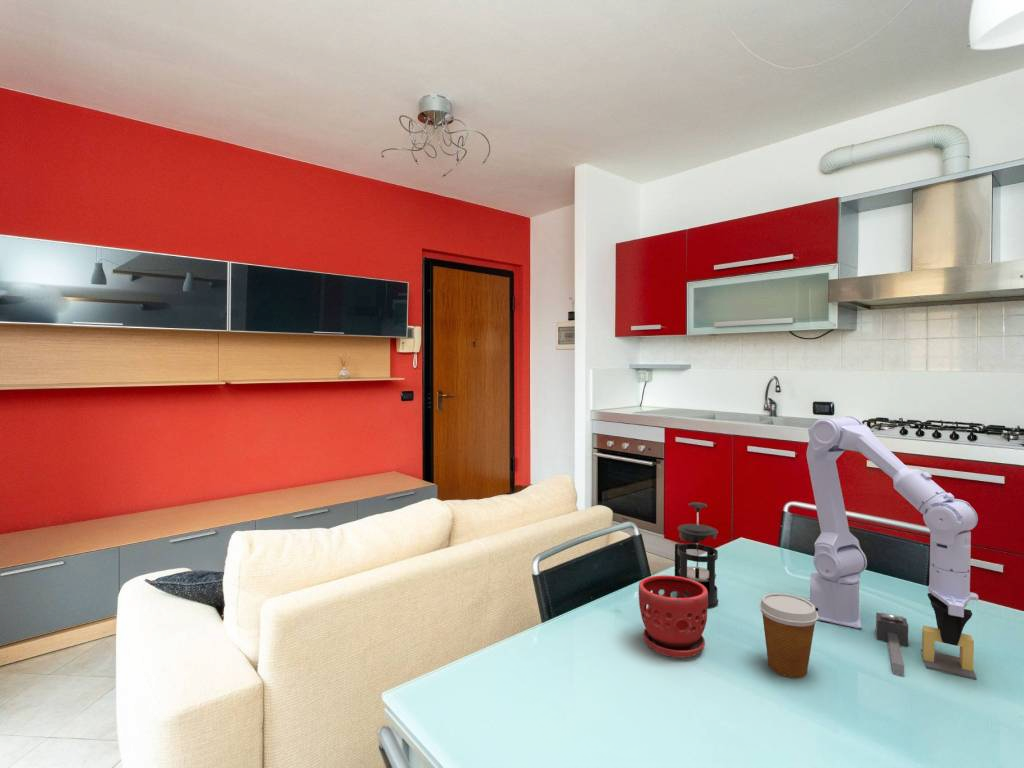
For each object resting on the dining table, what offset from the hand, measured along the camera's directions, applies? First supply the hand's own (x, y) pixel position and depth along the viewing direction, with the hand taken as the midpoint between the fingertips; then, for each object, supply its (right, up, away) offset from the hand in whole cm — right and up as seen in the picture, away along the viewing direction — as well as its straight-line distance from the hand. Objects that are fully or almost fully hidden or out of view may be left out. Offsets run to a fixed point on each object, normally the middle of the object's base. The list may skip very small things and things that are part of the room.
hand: (948, 639), depth 97 cm
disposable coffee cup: (-30, -5, -1) cm, 31 cm away
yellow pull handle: (0, -4, 0) cm, 4 cm away
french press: (-37, -4, +28) cm, 46 cm away
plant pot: (-49, -5, +7) cm, 49 cm away
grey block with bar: (-7, -5, +4) cm, 9 cm away
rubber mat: (0, -5, 0) cm, 5 cm away
